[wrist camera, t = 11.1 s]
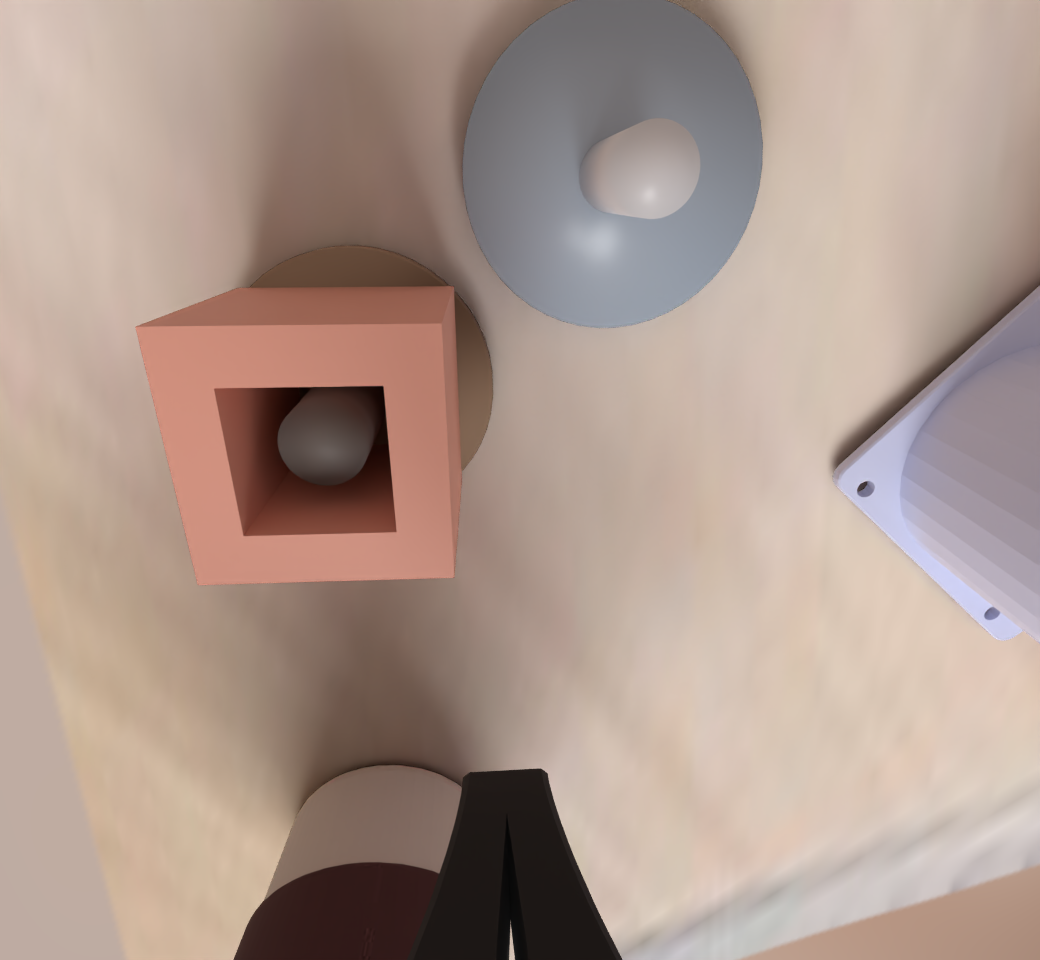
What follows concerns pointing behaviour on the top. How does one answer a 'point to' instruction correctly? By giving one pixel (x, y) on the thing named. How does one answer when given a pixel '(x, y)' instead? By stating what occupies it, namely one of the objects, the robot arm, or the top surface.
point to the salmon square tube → (271, 397)
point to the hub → (361, 409)
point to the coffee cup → (357, 868)
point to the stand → (612, 161)
